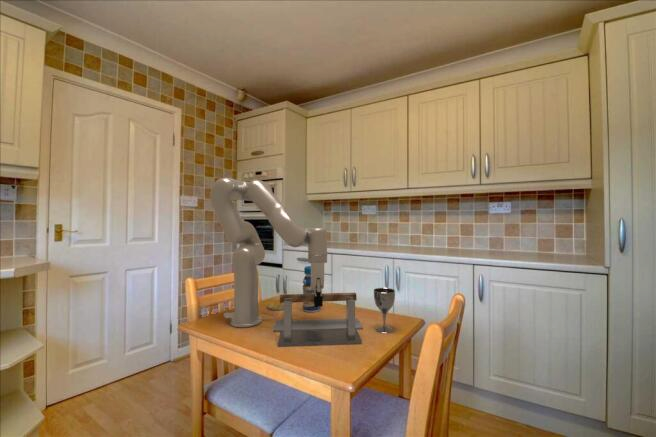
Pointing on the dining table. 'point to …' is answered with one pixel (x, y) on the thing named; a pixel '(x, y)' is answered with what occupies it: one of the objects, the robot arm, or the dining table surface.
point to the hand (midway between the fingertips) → (318, 304)
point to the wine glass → (384, 305)
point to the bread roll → (275, 305)
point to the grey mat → (316, 325)
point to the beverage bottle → (308, 291)
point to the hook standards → (319, 336)
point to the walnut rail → (311, 296)
